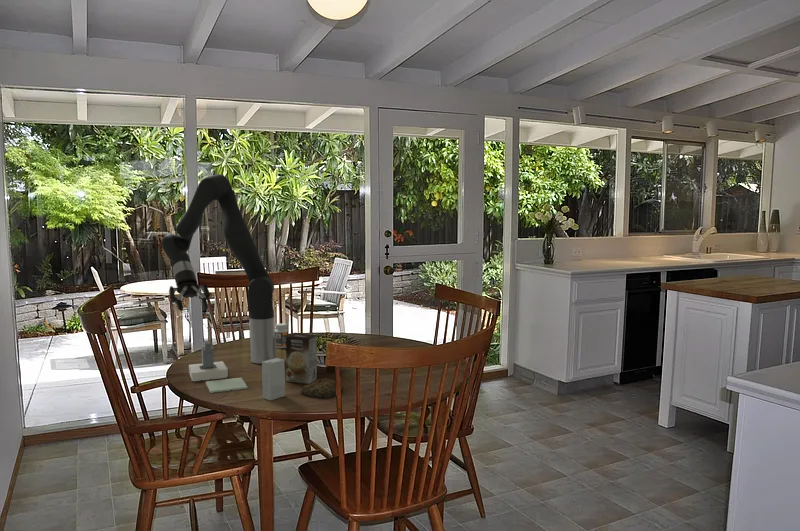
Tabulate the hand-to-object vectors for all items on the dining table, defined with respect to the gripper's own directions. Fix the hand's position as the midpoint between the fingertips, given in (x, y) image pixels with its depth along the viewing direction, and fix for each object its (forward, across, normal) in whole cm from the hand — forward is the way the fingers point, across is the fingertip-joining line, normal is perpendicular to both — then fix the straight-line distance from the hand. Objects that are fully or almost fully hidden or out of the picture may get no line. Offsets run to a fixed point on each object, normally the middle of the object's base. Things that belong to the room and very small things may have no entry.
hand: (193, 308), depth 227 cm
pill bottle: (+7, +40, +24) cm, 47 cm away
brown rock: (+54, +26, -23) cm, 64 cm away
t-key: (+25, +1, +6) cm, 26 cm away
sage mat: (+37, +2, -6) cm, 37 cm away
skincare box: (+52, +10, -20) cm, 56 cm away
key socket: (+25, +1, +6) cm, 26 cm away
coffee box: (+43, +26, -12) cm, 51 cm away
